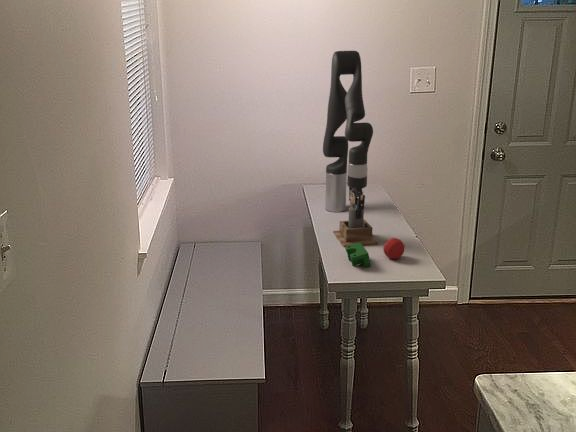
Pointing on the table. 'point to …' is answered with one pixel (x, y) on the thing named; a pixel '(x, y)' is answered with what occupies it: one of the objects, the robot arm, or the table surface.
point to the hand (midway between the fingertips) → (356, 215)
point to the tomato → (394, 248)
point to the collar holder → (355, 234)
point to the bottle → (352, 212)
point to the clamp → (358, 254)
